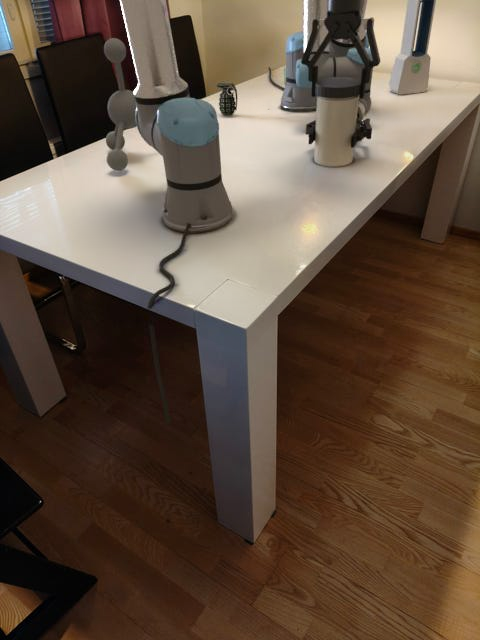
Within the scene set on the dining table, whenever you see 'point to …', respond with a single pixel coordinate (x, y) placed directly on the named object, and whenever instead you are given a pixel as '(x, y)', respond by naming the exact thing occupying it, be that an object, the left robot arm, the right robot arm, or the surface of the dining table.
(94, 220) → the dining table surface
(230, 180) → the dining table surface
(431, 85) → the dining table surface
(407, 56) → the electronic device
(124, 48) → the molecular model
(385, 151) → the dining table surface
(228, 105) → the grenade
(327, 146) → the jar
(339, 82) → the lid
